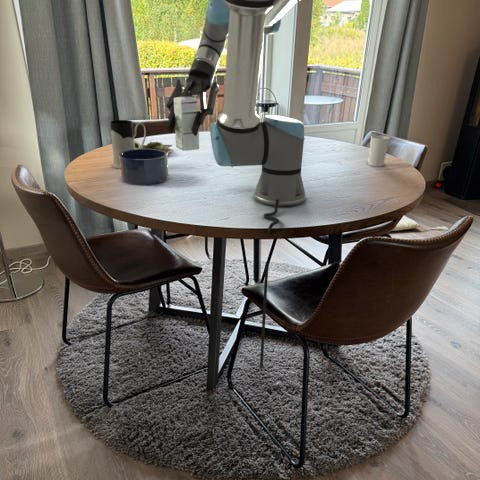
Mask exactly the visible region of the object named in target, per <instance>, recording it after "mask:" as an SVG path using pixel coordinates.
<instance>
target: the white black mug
mask: <svg viewBox="0 0 480 480" xmlns="http://www.w3.org/2000/svg"><path fill="white" fill-rule="evenodd" d="M109 124H110V139H111V145H112V156H113V165H112V166H113V168H115V169H119V170H121V167H120V158H119V154H120V153H121V152H124V151H127V150H133V149H135V142H134V141H135V137H136V136H137V128H138V127H139V126H140V125H142V127H143V139H142V142H141V143H140V145H141V146H140V148H139V149H141V148H142V146H143V145H145V141H146V138H147V137H146V136H147V129H146V126H145V124H143V123H141V122H138V123H136V125H135V127H133V121H132V120H128V119H117V120H116V119H115V120H111V121H110V123H109Z"/></svg>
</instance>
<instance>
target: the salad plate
mask: <svg viewBox="0 0 480 480" xmlns="http://www.w3.org/2000/svg"><path fill="white" fill-rule="evenodd" d="M134 142H135V149H139V148H140V146H141V143H139V142H138V141H136V140H134ZM171 147H173V144H163V142H162V141H161V142H159V141H150V142H149V143H147V144H143V146H142V148H141V149H157V150H162V151H164V152H166V153H167V156H170V155H171V154H172V153H173V152H174V149H172V148H171Z"/></svg>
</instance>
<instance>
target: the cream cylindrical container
mask: <svg viewBox="0 0 480 480" xmlns="http://www.w3.org/2000/svg"><path fill="white" fill-rule="evenodd" d="M389 142H390V136H387V135H381V134H374V135H370V144H369V153H368V161H367V162H368V163H367V164H368V166H371V167H383V166H384V165H385V160H386V156H387V152H388V148H389V147H388V146H389Z"/></svg>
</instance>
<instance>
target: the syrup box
mask: <svg viewBox="0 0 480 480" xmlns="http://www.w3.org/2000/svg"><path fill="white" fill-rule="evenodd" d="M198 111H199V99H198V98H194V97H193V96H192V97H177V98H174V115H175V127H174V131H175V133H174V134H175V147H176V148H177V149H179V150H181V151H183V152H184V151H187V152H188V151H196V150H200V129H199V130H198V133H197V136H194V134H193V132H192V130H191V129H192V126H193V123H194V120H195V118H196V115H197V112H198Z"/></svg>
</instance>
